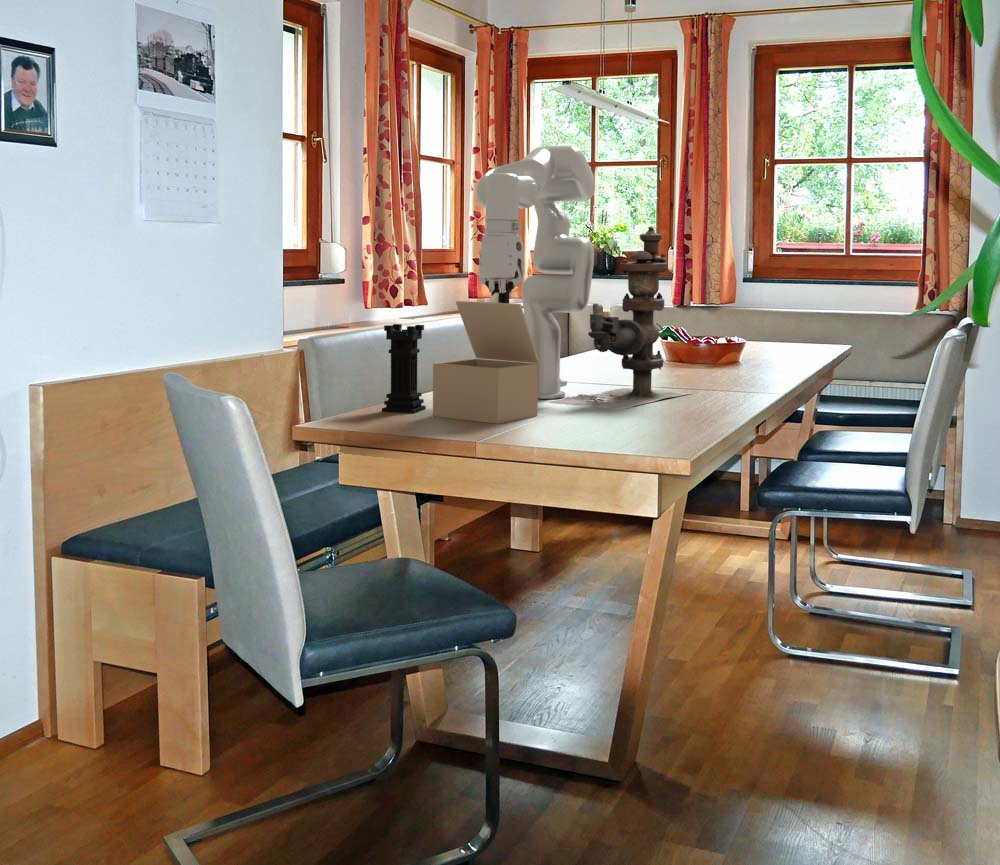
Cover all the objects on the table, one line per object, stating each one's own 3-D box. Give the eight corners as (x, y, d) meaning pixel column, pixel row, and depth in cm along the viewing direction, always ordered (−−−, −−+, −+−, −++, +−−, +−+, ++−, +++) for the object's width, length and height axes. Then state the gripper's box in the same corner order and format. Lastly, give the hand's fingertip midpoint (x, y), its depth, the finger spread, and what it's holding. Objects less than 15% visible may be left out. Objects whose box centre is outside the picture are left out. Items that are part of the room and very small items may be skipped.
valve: (620, 411, 270) (631, 222, 263) (549, 402, 281) (557, 220, 274) (693, 396, 304) (704, 228, 297) (626, 388, 316) (636, 226, 308)
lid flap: (476, 358, 265) (485, 347, 268) (538, 363, 255) (547, 351, 258) (455, 302, 256) (466, 291, 259) (519, 305, 246) (529, 293, 249)
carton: (474, 408, 267) (474, 358, 265) (537, 415, 257) (538, 363, 255) (432, 416, 254) (433, 363, 252) (497, 423, 244) (498, 369, 242)
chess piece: (425, 409, 265) (426, 324, 262) (414, 413, 258) (414, 326, 255) (394, 407, 268) (394, 323, 264) (381, 411, 260) (381, 325, 257)
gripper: (539, 229, 252) (537, 311, 255) (483, 230, 261) (482, 309, 263) (520, 228, 246) (518, 311, 248) (464, 228, 255) (463, 309, 257)
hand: (500, 309), depth 256 cm, fingers closed
